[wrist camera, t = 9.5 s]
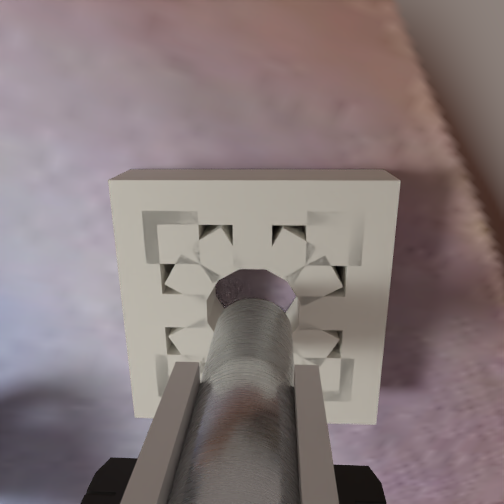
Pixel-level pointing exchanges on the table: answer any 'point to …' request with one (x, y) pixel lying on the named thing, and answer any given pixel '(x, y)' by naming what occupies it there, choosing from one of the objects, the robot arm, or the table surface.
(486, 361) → the table surface
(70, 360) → the table surface
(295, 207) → the bore block
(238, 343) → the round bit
